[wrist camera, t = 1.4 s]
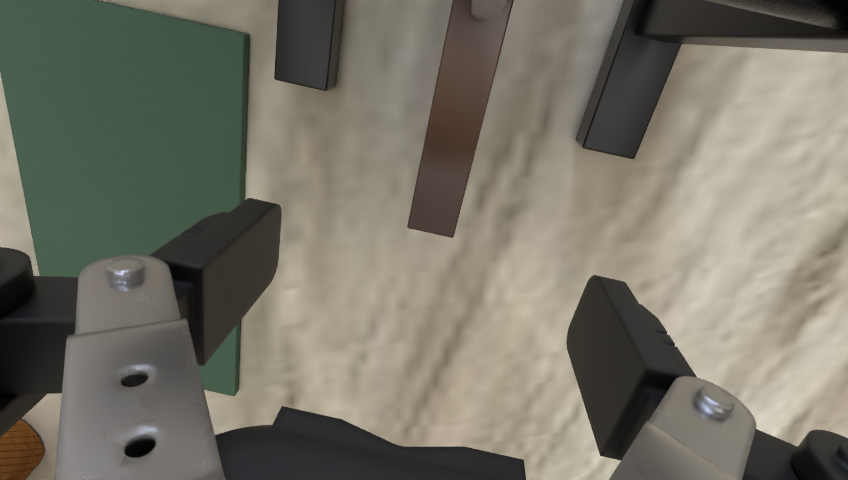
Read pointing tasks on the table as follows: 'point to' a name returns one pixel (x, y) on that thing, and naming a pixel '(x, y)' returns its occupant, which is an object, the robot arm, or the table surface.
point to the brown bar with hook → (458, 112)
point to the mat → (124, 133)
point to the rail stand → (625, 57)
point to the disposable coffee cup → (19, 452)
